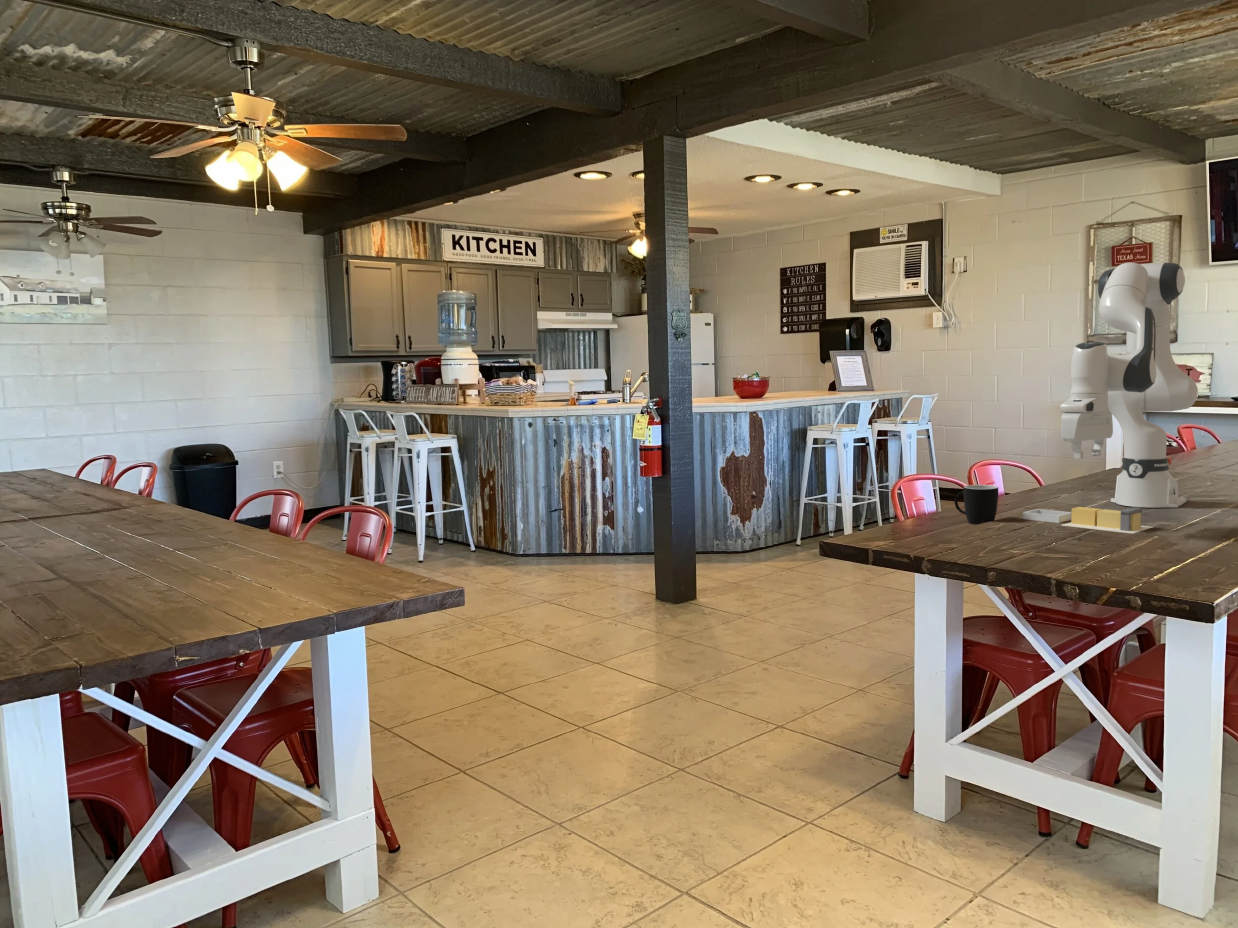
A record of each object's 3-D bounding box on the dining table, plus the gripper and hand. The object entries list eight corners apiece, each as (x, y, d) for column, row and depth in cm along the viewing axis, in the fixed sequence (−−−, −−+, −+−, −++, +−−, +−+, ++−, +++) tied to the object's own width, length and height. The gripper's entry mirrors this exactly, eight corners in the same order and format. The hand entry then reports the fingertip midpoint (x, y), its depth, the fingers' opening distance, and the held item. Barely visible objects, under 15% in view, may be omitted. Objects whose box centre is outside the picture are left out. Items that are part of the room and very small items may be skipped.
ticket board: (1082, 523, 248) (1082, 501, 248) (1153, 531, 234) (1154, 507, 234) (1060, 529, 241) (1060, 506, 241) (1132, 538, 227) (1132, 513, 226)
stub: (1078, 521, 245) (1078, 506, 245) (1101, 524, 240) (1102, 509, 240) (1071, 523, 243) (1071, 508, 242) (1094, 526, 238) (1094, 510, 238)
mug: (1003, 522, 255) (1004, 486, 254) (989, 526, 249) (989, 489, 248) (962, 518, 264) (962, 483, 262) (947, 522, 257) (947, 486, 256)
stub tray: (1037, 519, 257) (1037, 508, 257) (1073, 523, 249) (1073, 512, 249) (1022, 522, 252) (1022, 512, 252) (1058, 527, 245) (1058, 516, 244)
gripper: (1096, 403, 247) (1094, 454, 249) (1056, 405, 235) (1055, 459, 237) (1120, 403, 242) (1118, 455, 244) (1081, 405, 230) (1080, 460, 231)
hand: (1087, 457), depth 240 cm, fingers open, 8 cm apart
